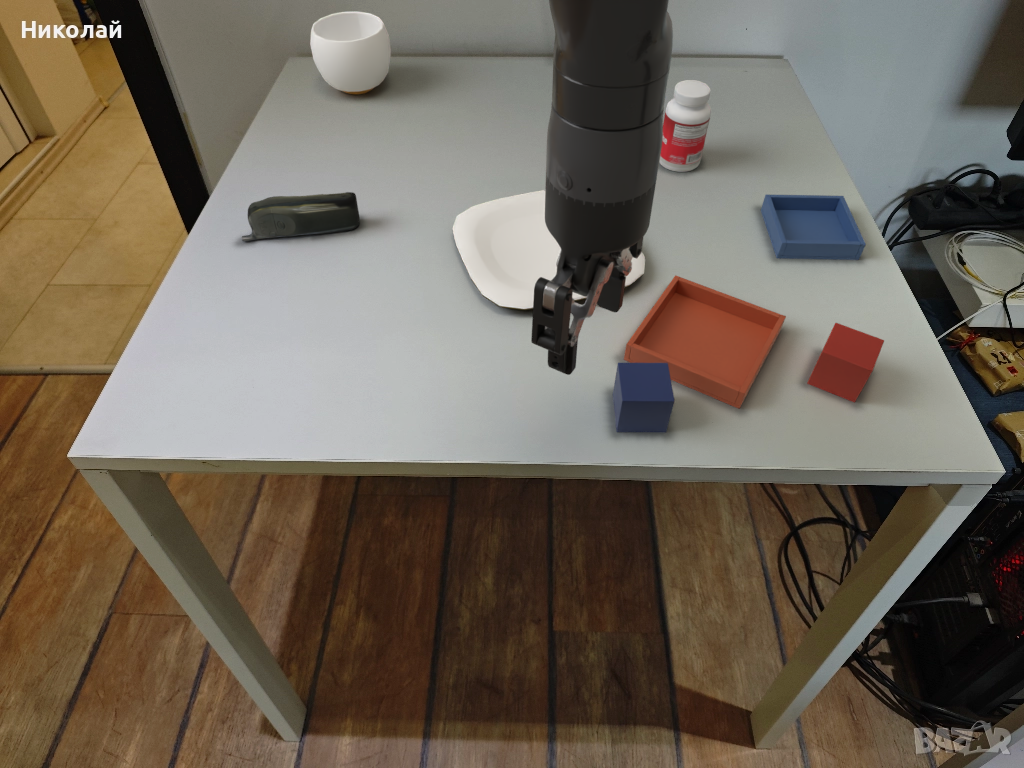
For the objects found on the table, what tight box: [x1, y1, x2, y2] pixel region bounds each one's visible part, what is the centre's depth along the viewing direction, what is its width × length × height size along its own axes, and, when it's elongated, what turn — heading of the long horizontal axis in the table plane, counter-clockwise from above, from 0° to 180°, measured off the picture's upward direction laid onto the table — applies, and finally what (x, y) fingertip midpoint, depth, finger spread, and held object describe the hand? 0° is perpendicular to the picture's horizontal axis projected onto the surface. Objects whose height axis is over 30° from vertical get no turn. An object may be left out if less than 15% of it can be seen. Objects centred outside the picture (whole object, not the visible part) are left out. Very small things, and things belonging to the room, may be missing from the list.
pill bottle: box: [659, 79, 712, 173], centre depth 100 cm, size 6×6×11 cm
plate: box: [452, 189, 646, 311], centre depth 90 cm, size 22×22×2 cm
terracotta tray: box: [623, 274, 787, 409], centre depth 79 cm, size 13×13×2 cm
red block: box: [806, 322, 885, 403], centre depth 75 cm, size 5×5×5 cm
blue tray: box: [760, 193, 867, 261], centre depth 92 cm, size 10×10×2 cm
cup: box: [309, 11, 392, 95], centre depth 115 cm, size 12×12×10 cm
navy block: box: [612, 362, 676, 433], centre depth 72 cm, size 5×5×5 cm
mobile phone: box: [241, 191, 361, 242], centre depth 92 cm, size 5×3×15 cm
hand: (585, 336), depth 61 cm, fingers open, 8 cm apart
